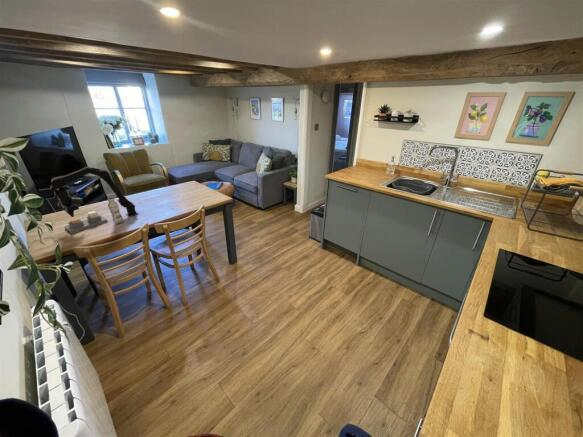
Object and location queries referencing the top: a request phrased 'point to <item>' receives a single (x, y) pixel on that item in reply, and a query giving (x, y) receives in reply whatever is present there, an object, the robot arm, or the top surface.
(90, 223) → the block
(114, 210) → the plastic bottle
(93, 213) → the beige cube
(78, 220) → the orange cube
